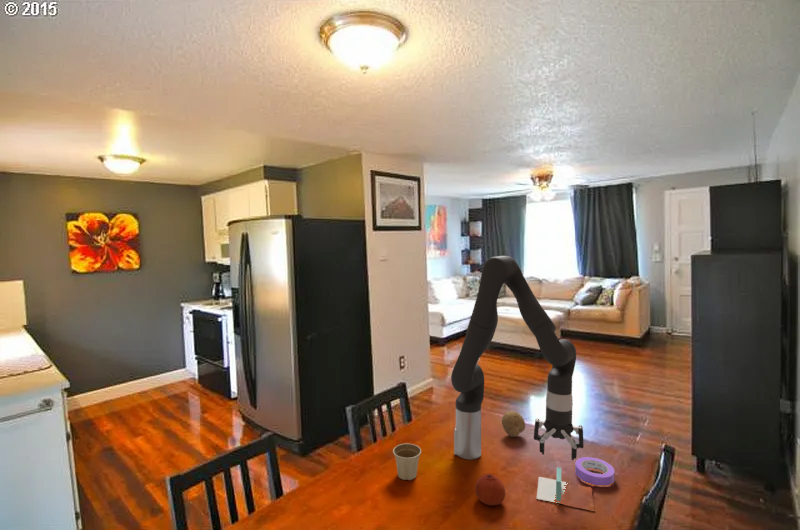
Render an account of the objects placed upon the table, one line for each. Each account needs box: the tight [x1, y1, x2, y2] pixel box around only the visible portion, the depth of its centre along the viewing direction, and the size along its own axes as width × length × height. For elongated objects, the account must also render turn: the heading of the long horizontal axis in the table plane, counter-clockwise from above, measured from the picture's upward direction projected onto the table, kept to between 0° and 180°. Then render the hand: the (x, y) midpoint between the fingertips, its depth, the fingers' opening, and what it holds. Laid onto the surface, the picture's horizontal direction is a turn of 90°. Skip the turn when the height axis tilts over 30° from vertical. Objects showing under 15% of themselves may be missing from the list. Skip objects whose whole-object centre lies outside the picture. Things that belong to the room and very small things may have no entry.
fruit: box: [474, 473, 506, 506], centre depth 122 cm, size 9×9×8 cm
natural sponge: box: [501, 410, 526, 438], centre depth 162 cm, size 9×9×10 cm
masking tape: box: [574, 456, 616, 485], centre depth 134 cm, size 12×12×4 cm
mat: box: [536, 476, 568, 503], centre depth 126 cm, size 16×12×1 cm
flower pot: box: [392, 442, 422, 481], centre depth 137 cm, size 9×9×9 cm
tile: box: [555, 466, 562, 501], centre depth 126 cm, size 1×8×6 cm, turn 158°
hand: (557, 456), depth 126 cm, fingers open, 8 cm apart
